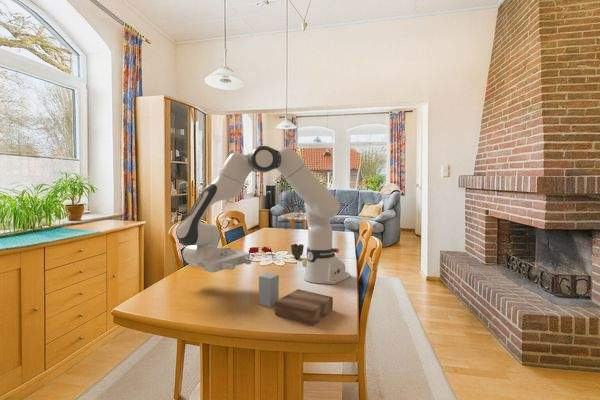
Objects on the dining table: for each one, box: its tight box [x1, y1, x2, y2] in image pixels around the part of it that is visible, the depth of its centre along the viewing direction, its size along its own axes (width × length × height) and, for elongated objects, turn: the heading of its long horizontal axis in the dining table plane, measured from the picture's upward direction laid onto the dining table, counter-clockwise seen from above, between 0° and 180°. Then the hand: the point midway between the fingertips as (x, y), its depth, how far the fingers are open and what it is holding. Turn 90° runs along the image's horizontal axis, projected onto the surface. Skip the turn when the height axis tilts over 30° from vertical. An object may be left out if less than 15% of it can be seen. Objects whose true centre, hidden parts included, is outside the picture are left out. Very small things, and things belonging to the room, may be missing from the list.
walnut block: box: [274, 288, 334, 327], centre depth 103 cm, size 14×14×5 cm
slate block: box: [258, 272, 280, 308], centre depth 111 cm, size 5×5×10 cm
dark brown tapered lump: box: [290, 243, 305, 259], centre depth 177 cm, size 8×7×8 cm
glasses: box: [248, 246, 274, 259], centre depth 179 cm, size 14×16×5 cm
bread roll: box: [301, 258, 307, 267], centre depth 163 cm, size 8×9×4 cm
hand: (242, 264), depth 117 cm, fingers open, 8 cm apart
